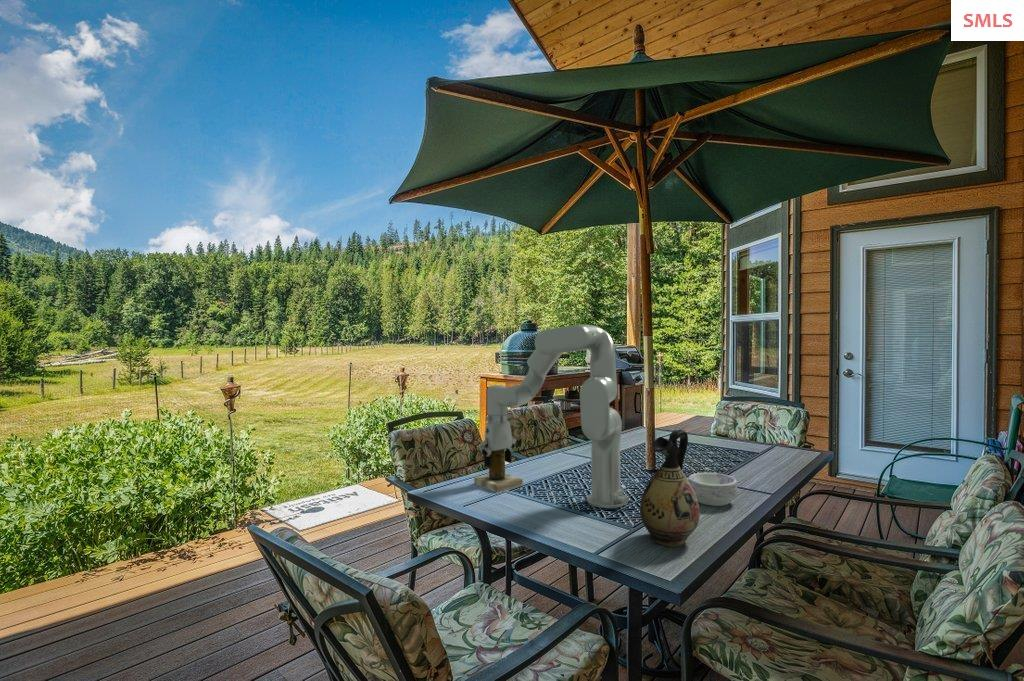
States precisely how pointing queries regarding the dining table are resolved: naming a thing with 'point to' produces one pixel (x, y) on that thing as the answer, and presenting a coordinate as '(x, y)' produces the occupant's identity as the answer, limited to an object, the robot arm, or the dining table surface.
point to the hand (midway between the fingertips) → (498, 464)
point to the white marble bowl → (713, 488)
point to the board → (498, 483)
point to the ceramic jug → (670, 496)
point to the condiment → (497, 467)
